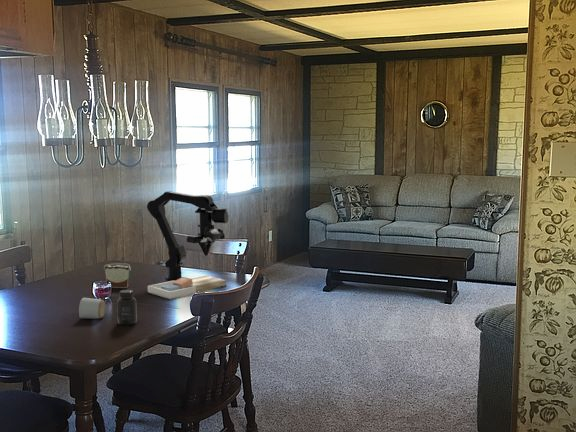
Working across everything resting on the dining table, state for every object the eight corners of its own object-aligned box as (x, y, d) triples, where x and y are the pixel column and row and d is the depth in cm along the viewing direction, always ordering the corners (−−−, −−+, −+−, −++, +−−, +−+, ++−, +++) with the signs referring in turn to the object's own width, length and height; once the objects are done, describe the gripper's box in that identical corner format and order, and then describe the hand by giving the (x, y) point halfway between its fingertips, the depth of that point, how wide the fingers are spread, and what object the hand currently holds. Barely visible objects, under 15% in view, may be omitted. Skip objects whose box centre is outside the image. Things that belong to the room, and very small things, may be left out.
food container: (135, 284, 294) (134, 263, 292) (130, 288, 288) (130, 266, 286) (109, 284, 295) (108, 262, 294) (104, 287, 289) (103, 265, 288)
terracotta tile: (173, 287, 283) (172, 282, 282) (184, 281, 287) (183, 276, 286) (182, 289, 279) (181, 284, 278) (192, 284, 283) (191, 278, 282)
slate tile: (161, 291, 279) (161, 286, 279) (172, 289, 284) (172, 283, 283) (169, 294, 275) (169, 288, 275) (180, 291, 280) (180, 286, 279)
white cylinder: (100, 321, 238) (100, 300, 237) (78, 320, 238) (78, 300, 237) (109, 313, 249) (108, 294, 248) (88, 313, 249) (87, 293, 248)
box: (147, 292, 280) (147, 285, 279) (173, 287, 290) (173, 280, 289) (169, 299, 269) (169, 292, 269) (195, 293, 279) (195, 286, 279)
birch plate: (175, 287, 289) (175, 281, 289) (206, 280, 302) (206, 275, 302) (195, 292, 280) (194, 287, 280) (226, 285, 293) (226, 280, 293)
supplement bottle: (140, 321, 237) (140, 290, 236) (129, 326, 231) (128, 294, 230) (125, 319, 240) (125, 288, 239) (113, 324, 234) (112, 292, 233)
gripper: (201, 226, 286) (201, 260, 289) (232, 222, 300) (232, 255, 302) (185, 223, 294) (186, 257, 296) (216, 219, 308) (217, 252, 310)
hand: (206, 255), depth 301 cm, fingers closed
